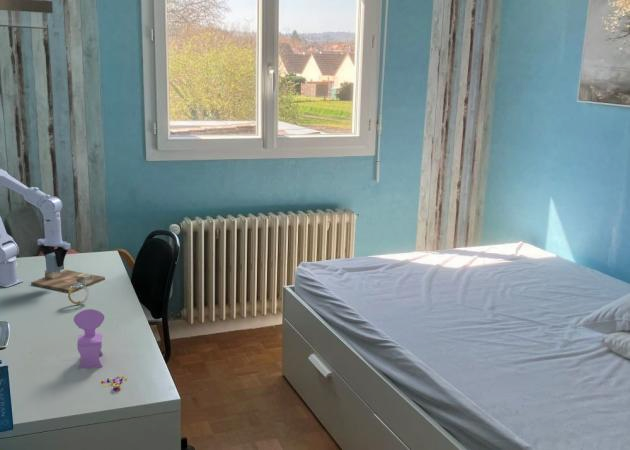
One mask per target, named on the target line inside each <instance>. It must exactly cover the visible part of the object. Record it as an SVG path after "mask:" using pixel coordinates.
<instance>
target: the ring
mask: <svg viewBox="0 0 630 450" xmlns="http://www.w3.org/2000/svg"><path fill="white" fill-rule="evenodd" d="M83 284H84V283H83ZM83 284H82V283H81V284H80V282H79V283H77V282H76V284H74V285H73V286H71V287H70V289H69V292H67V297H68V300H69V302H71V303H72V304H74V305H78V306H81V305H82V304H84V303H87V301H88V299H89V297H90V292H89V288H88V286H87V287H85V286H83ZM78 287H82V288H83V289H84V290H85V291H86V296H85V298H84V299H83V300H81V301H80V300H79V301H74V300H73V299H72V298H71V294H72V293H71V292H72V291H73V290H75V289H76V288H78Z"/></svg>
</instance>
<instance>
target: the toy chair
mask: <svg viewBox="0 0 630 450" xmlns="http://www.w3.org/2000/svg"><path fill="white" fill-rule="evenodd" d="M104 321H105V314H104V313H102V312H101V311H100V310H97V309H93V308H87V309H83V310H80V311H79V312H78V313H77V314H75V315H74V317H73V322H74V324H75V325H76V327H78V328H79V329H81V330H83V333H84V334H78V337H77V342H76V343H77V345H76V346H77V352H78V353H79V357H80V358H81V359H80V361H81V362H80V364H79V367H78V369H79V370H80V369H81V370H83V369H84V370H85V369H91V368H93V369H94V368H102V367H103V364H102V362H101V360H100V356H104V354H103V353H104V352H103V351H102V348H103V347H102V345H103V344H102V342H103V341H102V339H103V333H101V332H100V333H99V332H97V333H96V329H97V328H99V327H100V326H101V325H102V324H103V322H104Z"/></svg>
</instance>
